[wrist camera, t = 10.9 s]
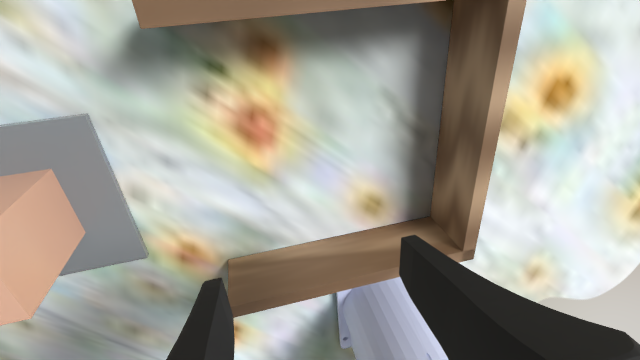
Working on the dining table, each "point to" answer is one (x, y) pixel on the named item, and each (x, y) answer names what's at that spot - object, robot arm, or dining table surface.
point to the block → (33, 240)
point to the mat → (77, 185)
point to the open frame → (451, 164)
